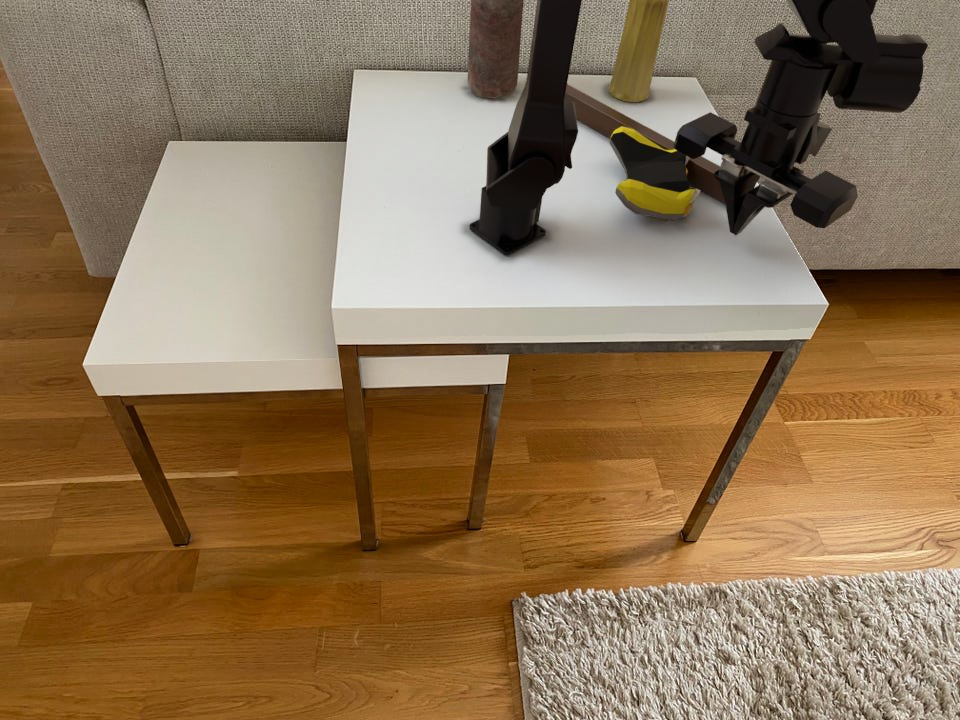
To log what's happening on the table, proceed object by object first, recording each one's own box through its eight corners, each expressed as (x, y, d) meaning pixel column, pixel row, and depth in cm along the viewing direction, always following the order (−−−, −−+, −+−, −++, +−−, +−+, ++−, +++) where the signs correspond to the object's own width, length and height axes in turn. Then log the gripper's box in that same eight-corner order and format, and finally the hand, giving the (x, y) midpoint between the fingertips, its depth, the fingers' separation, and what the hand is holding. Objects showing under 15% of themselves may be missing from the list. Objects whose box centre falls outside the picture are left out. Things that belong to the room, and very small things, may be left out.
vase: (625, 79, 108) (647, -20, 98) (657, 95, 106) (683, -6, 95) (599, 90, 105) (619, -11, 95) (631, 107, 103) (655, 4, 92)
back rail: (730, 207, 86) (738, 186, 84) (536, 97, 103) (539, 77, 101) (739, 201, 87) (747, 181, 85) (546, 93, 104) (549, 74, 102)
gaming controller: (610, 228, 82) (695, 235, 82) (619, 188, 78) (709, 195, 78) (603, 159, 92) (679, 166, 92) (611, 120, 88) (690, 127, 88)
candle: (464, 75, 106) (470, -74, 91) (512, 76, 107) (526, -73, 92) (469, 100, 101) (476, -55, 86) (519, 100, 102) (535, -53, 87)
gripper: (917, 118, 68) (845, 247, 79) (753, 47, 77) (710, 172, 88) (860, 154, 62) (792, 287, 74) (691, 73, 71) (654, 203, 83)
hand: (735, 232), depth 80 cm, fingers closed
